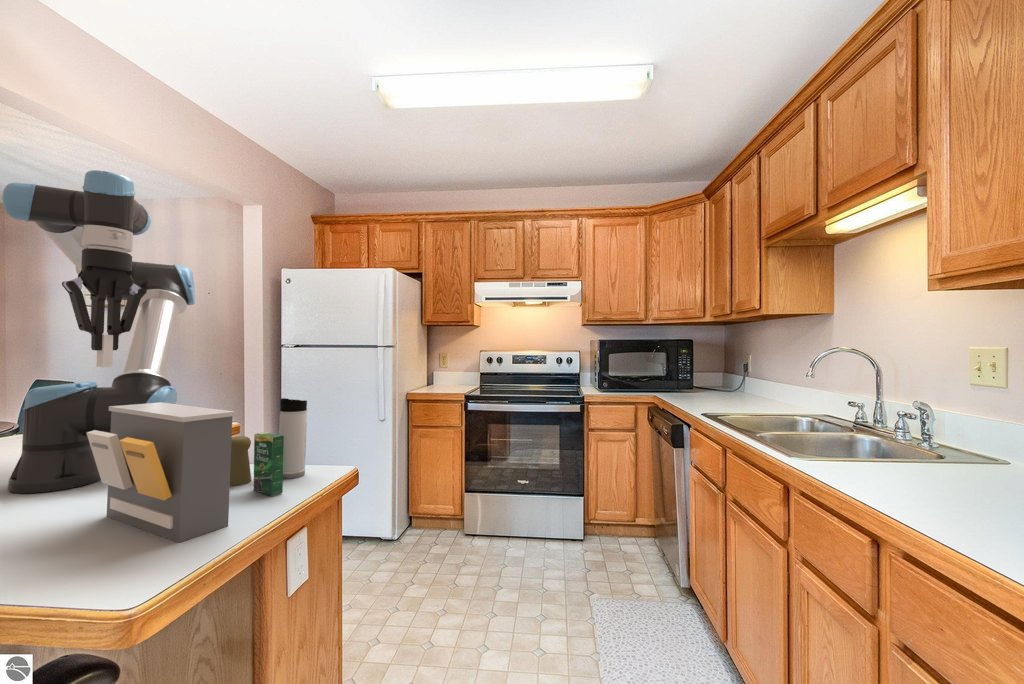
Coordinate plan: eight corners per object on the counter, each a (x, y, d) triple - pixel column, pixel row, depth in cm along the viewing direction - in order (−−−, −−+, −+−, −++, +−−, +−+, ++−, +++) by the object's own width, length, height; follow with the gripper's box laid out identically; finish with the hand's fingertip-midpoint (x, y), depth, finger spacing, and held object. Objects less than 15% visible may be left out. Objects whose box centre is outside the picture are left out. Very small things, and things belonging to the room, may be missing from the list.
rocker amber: (162, 501, 72) (143, 446, 69) (136, 493, 75) (117, 441, 73) (171, 496, 73) (153, 442, 71) (146, 489, 77) (127, 437, 74)
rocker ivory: (122, 490, 77) (106, 437, 75) (100, 483, 80) (84, 433, 78) (132, 486, 78) (117, 434, 76) (110, 479, 82) (94, 429, 79)
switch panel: (177, 544, 72) (182, 417, 72) (103, 516, 82) (108, 406, 83) (230, 525, 80) (235, 411, 80) (156, 503, 90) (161, 402, 91)
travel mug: (270, 477, 110) (273, 397, 110) (291, 471, 116) (294, 395, 117) (289, 480, 108) (292, 399, 108) (310, 473, 114) (312, 397, 114)
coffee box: (251, 490, 100) (253, 432, 100) (264, 487, 102) (266, 430, 103) (270, 497, 95) (272, 436, 96) (283, 493, 98) (285, 435, 98)
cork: (215, 484, 103) (217, 437, 104) (238, 477, 109) (240, 433, 109) (235, 487, 102) (237, 440, 102) (257, 480, 107) (259, 435, 108)
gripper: (73, 242, 81) (69, 369, 81) (155, 255, 93) (152, 366, 93) (55, 245, 84) (51, 367, 84) (137, 257, 96) (133, 364, 96)
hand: (104, 366), depth 89 cm, fingers closed
